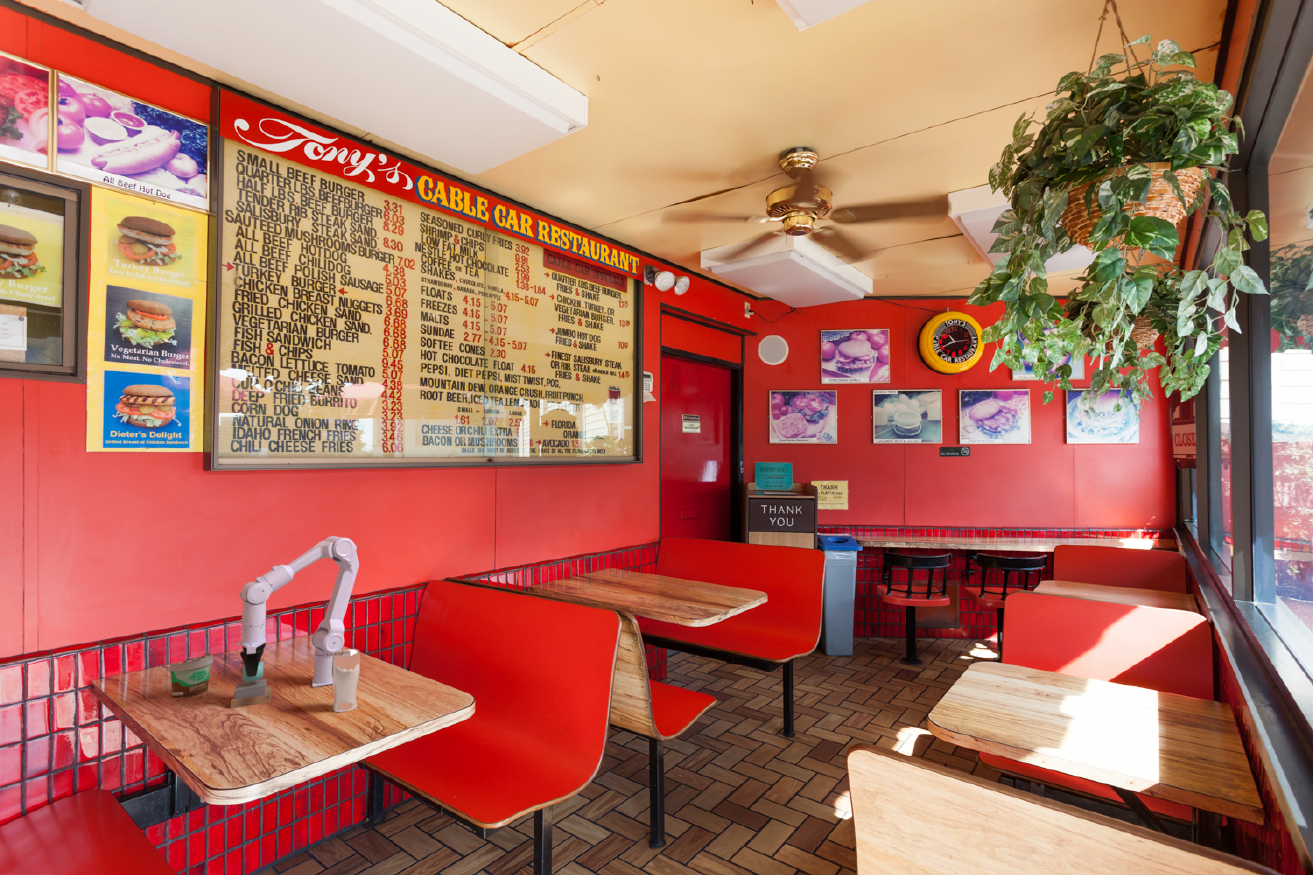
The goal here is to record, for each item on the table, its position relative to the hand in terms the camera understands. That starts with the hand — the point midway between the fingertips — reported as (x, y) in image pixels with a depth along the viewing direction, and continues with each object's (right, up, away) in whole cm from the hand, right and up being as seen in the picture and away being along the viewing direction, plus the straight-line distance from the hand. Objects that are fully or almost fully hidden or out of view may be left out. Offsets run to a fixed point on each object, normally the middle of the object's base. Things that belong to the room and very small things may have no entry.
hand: (252, 673), depth 179 cm
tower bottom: (0, -8, -1) cm, 8 cm away
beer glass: (+30, -7, -7) cm, 31 cm away
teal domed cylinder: (0, -1, 0) cm, 1 cm away
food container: (-20, -8, +6) cm, 23 cm away
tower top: (0, -6, 0) cm, 6 cm away
